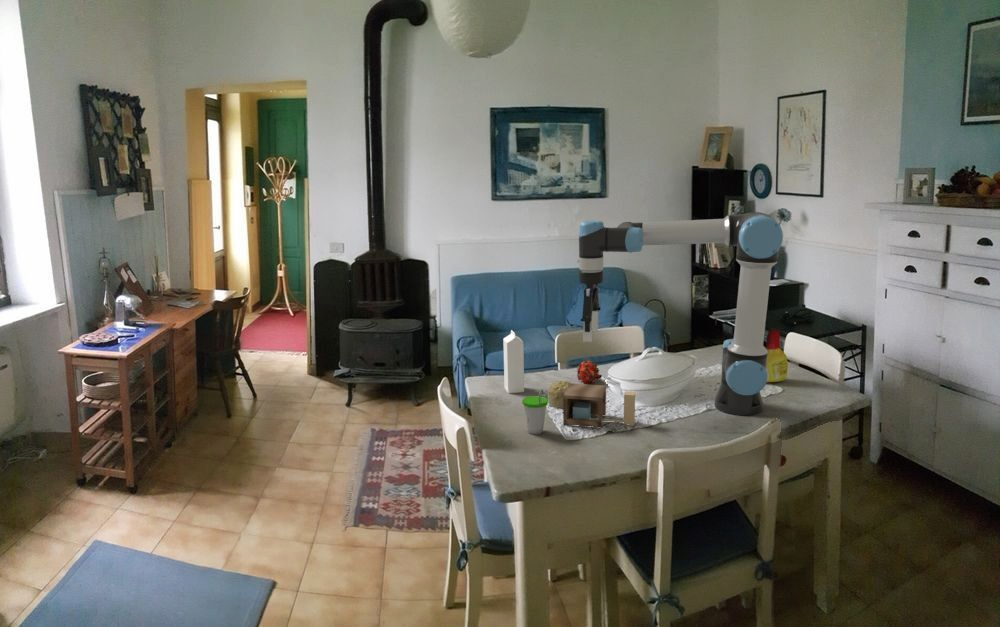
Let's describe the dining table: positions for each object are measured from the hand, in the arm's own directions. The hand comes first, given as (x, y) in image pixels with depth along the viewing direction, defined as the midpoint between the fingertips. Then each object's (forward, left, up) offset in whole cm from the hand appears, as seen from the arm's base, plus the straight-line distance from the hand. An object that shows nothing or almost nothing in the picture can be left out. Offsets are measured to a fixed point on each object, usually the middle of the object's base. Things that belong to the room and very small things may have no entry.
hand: (590, 335), depth 223 cm
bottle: (-60, -43, -26) cm, 79 cm away
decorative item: (+11, -6, -26) cm, 29 cm away
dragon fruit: (+5, -30, -26) cm, 41 cm away
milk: (+30, -16, -26) cm, 43 cm away
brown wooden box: (+1, +7, -26) cm, 27 cm away
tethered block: (-5, +7, -26) cm, 28 cm away
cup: (+14, +19, -26) cm, 36 cm away
